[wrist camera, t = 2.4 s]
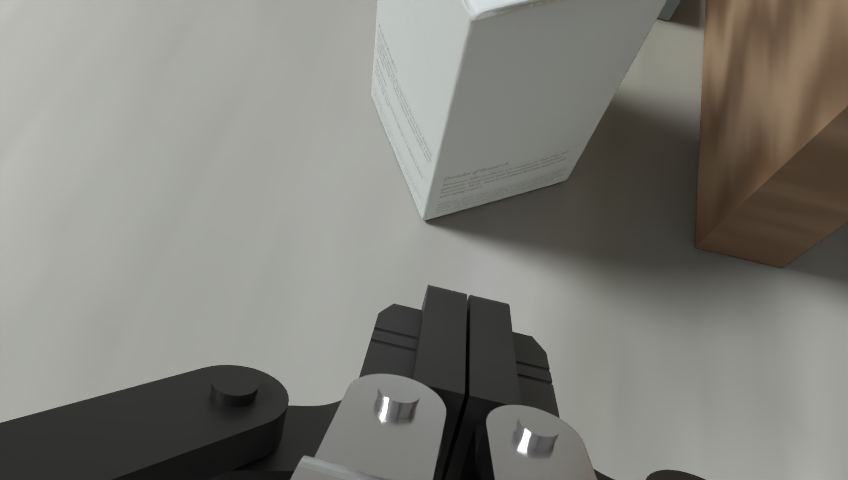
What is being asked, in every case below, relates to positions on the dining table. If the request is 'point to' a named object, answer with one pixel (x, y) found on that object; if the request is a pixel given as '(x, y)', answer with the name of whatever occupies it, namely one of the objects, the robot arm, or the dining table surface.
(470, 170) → the supplement box
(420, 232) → the dining table surface
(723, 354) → the dining table surface
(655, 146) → the dining table surface
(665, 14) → the slate bay
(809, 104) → the walnut partition
